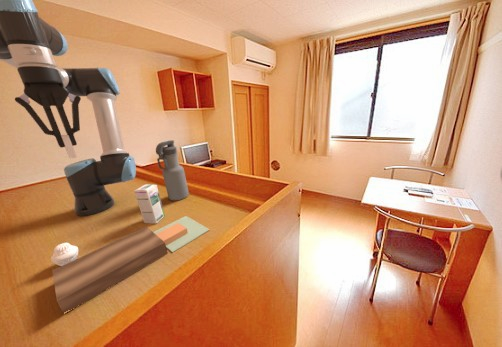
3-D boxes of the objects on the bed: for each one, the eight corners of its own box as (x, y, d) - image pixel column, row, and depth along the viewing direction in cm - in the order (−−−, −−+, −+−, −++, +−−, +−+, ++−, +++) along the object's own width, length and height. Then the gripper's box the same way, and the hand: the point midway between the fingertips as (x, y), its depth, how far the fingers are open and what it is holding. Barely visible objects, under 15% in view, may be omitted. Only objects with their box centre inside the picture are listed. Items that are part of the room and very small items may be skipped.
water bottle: (176, 203, 93) (163, 144, 84) (164, 199, 98) (149, 143, 89) (193, 194, 101) (182, 139, 92) (180, 191, 106) (169, 139, 97)
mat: (151, 233, 70) (151, 233, 70) (186, 216, 80) (186, 215, 80) (172, 252, 60) (172, 251, 60) (209, 230, 69) (209, 229, 69)
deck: (58, 282, 53) (52, 270, 51) (149, 236, 69) (146, 226, 68) (64, 315, 44) (56, 301, 42) (167, 253, 60) (164, 242, 59)
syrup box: (156, 223, 77) (147, 189, 72) (143, 223, 78) (133, 189, 73) (165, 216, 82) (157, 183, 77) (153, 215, 83) (144, 183, 78)
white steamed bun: (75, 254, 63) (67, 236, 61) (86, 258, 61) (78, 239, 59) (51, 268, 58) (41, 249, 56) (62, 273, 56) (52, 253, 53)
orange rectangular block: (154, 240, 66) (153, 235, 66) (179, 227, 72) (178, 222, 72) (162, 247, 62) (161, 242, 62) (187, 233, 68) (186, 228, 68)
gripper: (-4, 62, 43) (42, 165, 51) (72, 66, 52) (102, 153, 60) (-1, 68, 48) (41, 161, 56) (69, 71, 57) (96, 151, 65)
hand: (72, 157), depth 58 cm, fingers closed
